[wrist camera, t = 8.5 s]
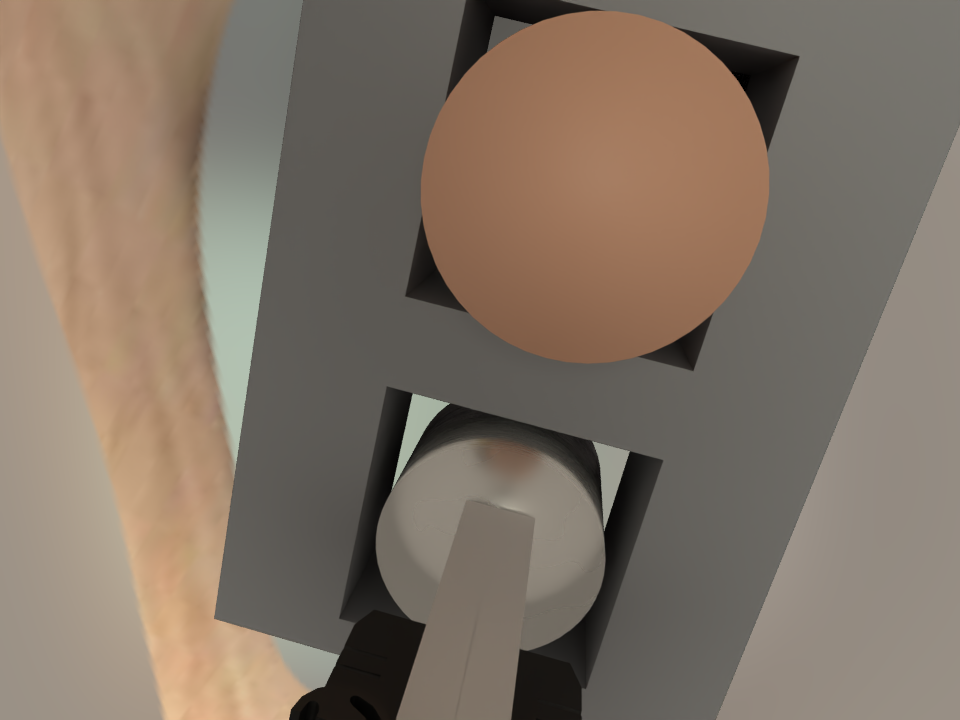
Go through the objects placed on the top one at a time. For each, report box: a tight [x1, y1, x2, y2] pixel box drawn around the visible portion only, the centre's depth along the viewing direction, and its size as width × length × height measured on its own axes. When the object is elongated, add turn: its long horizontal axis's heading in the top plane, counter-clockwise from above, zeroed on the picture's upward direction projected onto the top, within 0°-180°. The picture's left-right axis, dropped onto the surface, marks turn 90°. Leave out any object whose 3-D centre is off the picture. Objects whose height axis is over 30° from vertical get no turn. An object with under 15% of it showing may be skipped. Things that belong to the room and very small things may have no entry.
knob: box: [376, 403, 605, 651], centre depth 18 cm, size 5×5×4 cm
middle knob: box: [421, 11, 769, 364], centre depth 13 cm, size 5×5×4 cm
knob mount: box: [214, 0, 960, 720], centre depth 16 cm, size 24×12×4 cm, turn 167°
